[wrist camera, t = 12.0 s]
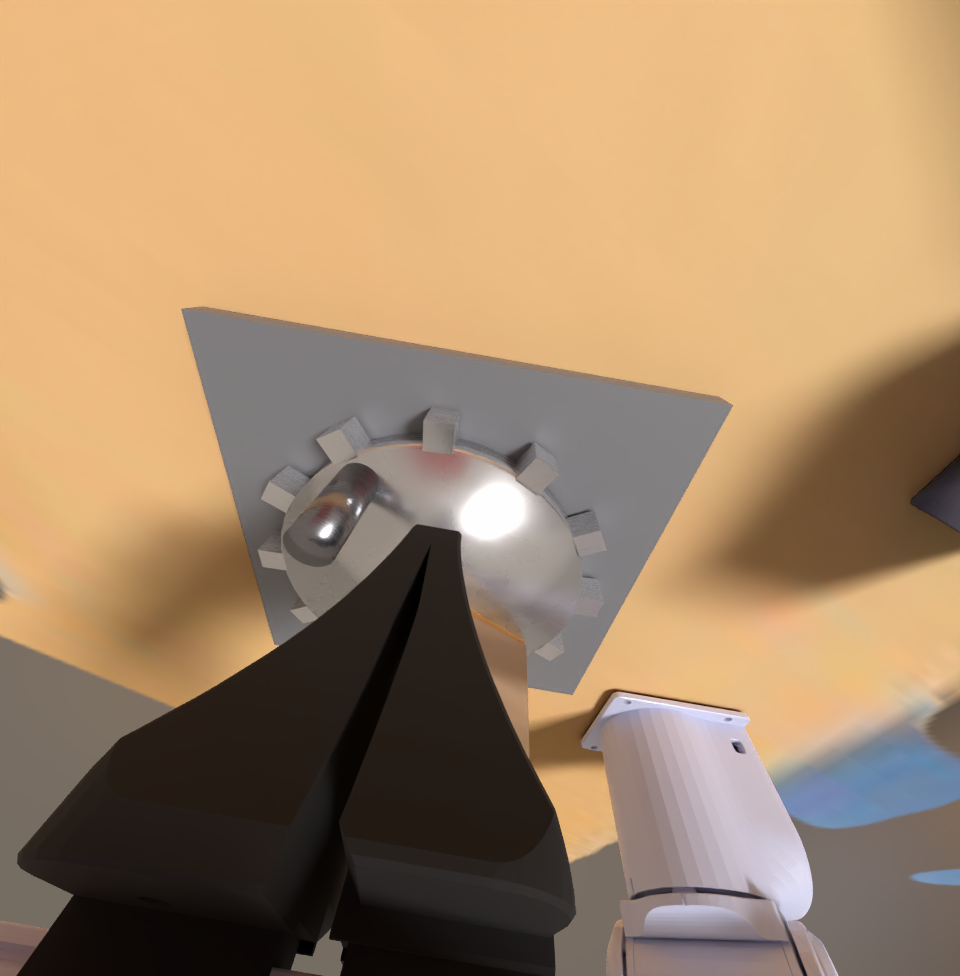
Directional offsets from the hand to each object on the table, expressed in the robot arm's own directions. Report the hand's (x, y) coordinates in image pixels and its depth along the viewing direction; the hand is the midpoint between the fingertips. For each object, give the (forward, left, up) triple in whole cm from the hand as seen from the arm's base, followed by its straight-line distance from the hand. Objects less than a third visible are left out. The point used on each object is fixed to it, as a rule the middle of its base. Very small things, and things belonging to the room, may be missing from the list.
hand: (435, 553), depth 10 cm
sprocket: (+1, +5, -5) cm, 8 cm away
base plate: (+1, +5, -6) cm, 8 cm away
